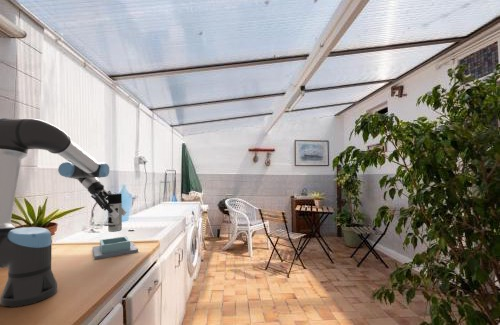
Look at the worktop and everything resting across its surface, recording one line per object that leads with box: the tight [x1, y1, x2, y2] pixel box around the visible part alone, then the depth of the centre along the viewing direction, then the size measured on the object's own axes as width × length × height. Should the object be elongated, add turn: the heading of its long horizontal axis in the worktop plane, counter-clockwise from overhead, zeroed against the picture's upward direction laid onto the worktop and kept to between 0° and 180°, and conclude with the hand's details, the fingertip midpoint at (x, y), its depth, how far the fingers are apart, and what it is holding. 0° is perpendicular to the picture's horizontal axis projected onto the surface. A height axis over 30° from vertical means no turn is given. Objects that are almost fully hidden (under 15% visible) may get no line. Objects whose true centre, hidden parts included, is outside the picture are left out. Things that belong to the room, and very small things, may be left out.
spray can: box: [107, 193, 123, 233], centre depth 144 cm, size 7×7×20 cm
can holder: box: [92, 235, 139, 260], centre depth 143 cm, size 20×20×6 cm
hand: (121, 215), depth 144 cm, fingers closed on spray can, 7 cm apart
